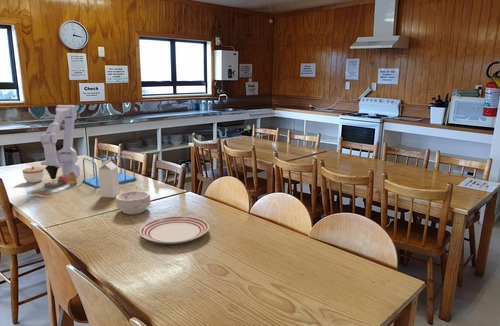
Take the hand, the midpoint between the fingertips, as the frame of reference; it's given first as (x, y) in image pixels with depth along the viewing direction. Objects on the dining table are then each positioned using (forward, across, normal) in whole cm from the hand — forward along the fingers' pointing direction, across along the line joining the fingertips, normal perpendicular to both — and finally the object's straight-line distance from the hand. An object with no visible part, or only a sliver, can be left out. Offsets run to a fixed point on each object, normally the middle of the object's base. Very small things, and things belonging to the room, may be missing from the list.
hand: (53, 178), depth 212 cm
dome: (+4, 0, 0) cm, 4 cm away
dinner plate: (+5, +97, -26) cm, 101 cm away
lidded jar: (+5, -18, +2) cm, 19 cm away
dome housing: (+5, 0, 0) cm, 5 cm away
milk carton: (+5, +39, +1) cm, 39 cm away
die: (+4, 0, +6) cm, 8 cm away
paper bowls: (+5, +65, -12) cm, 66 cm away
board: (+5, +5, 0) cm, 7 cm away
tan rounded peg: (+4, +8, +6) cm, 11 cm away
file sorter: (+5, +20, +21) cm, 30 cm away
